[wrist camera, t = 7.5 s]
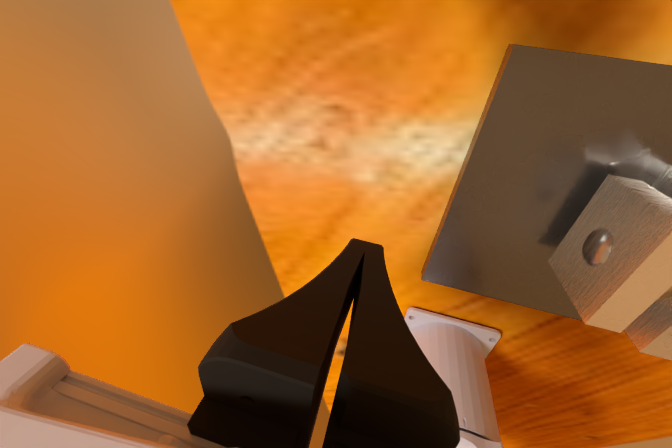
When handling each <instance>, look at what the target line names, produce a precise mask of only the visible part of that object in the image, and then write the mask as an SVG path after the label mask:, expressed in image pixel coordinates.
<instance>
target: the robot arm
mask: <svg viewBox="0 0 672 448" xmlns="http://www.w3.org/2000/svg"><path fill="white" fill-rule="evenodd" d="M353 299H354V301H353ZM352 301H353V308H352V314H351V321H350V328H349V334H348V341H347V347H346V352H345V356H344V361H343V365H342V369H341V373H340V377H339V381H338V385H337V389H336V393H335V397H334V402H333V406H332V410H331V414H330V418H329V422H328V426H327V430H326V434H325V439H324V443H323V447H322V448H503V444H502V443H501V438H500V433H499V428H498V423H497V418H496V413H495V409H494V404H493V399H492V394H491V389H490V384H489V379H488V374H487V369H486V364H485V358H486V357H487V356H488V354H489V353H490V352H491V350H492V349H493V347H494V346H495V345H496V343H497V342H498V340H499V339H500V338H501V334H500V332H499V331H498V330H496V329H492V328H489V327H485V326H481V325H477V324H474V323H470V322H466V321H463V320H459V319H455V318H451V317H448V316H444V315H440V314H437V313H433V312H429V311H426V310H422V309H418V308H414V307H411V308H408V310H407V313H406V315H405V318H404V317H403V315H402V313H401V311H400V309H399V306H398V304H397V301H396V299H395V296H394V293H393V291H392V287H391V284H390V281H389V277H388V274H387V270H386V265H385V260H384V248H383V247H382V245H378V244H374V243H370V242H366V241H362V240H358V239H354V238H353V239H351V240H350V242H349V243H348V245H347V246H346V247H345V249H344V250H343V251H342V252H341V253H340V254H339V255H338V256H337V257H336V259H335V260H334V261H333V262H332V263H331V264H330V265H329V266H328V267H326V268H325V269H324V270H323V271H322V272H321V273H320V274H318V275H317V276H316V277H315V278H314V279H312V280H311V281H310V282H308V283H307V284H306V285H304V286H303V287H302V288H300V289H299V290H297V291H296V292H294V293H292V294H291V295H289V296H288V297H286V298H284V299H283V300H281V301H279V302H277V303H275V304H273V305H271V306H269V307H267V308H265V309H264V310H262V311H259V312H257V313H255V314H253V315H251V316H248V317H245V318H243V319H241V320H238V321H236V322H233V323H231V324H230V325H229V326H228V327H227V328H226V329H225V330H224V332H223V333H222V334H221V335H220V336H219V337H218V338H217V340H216V341H215V342H214V343H213V345H212V346H211V348H210V350H209V351H208V352H207V354H206V355H205V357H204V358H203V360H202V361H201V363H200V365H199V367H198V370H199V377H200V381H201V384H202V388H203V392H204V397H203V399H202V400H201V402H200V404H199V405H198V407H197V409H196V410H195V412H194V414H190V413H187V412H184V411H182V410H179V409H176V408H173V407H171V406H168V405H165V404H162V403H160V402H157V401H154V400H151V399H149V398H146V397H143V396H141V395H137V394H135V393H132V392H130V391H127V390H124V389H121V388H119V387H116V386H113V385H111V384H108V383H105V382H102V381H100V380H97V379H94V378H91V377H88V376H86V375H83V374H80V373H77V372H75V371H72V370H70V366H69V365H68V363H67V362H66V360H65V359H63V358H62V357H61V356H60V355H58V354H56V353H54V352H52V351H49V350H46V349H43V348H40V347H38V346H35V345H32V344H29V343H25V344H23V345H22V346H20V347H19V348H18V349H16V350H15V351H14V352H12V353H11V354H10V355H9V356H7V357H6V358H4V359H3V360H2V361H0V448H309V444H310V440H311V437H312V433H313V429H314V425H315V422H316V418H317V414H318V410H319V407H320V403H321V399H322V395H323V392H324V388H325V384H326V380H327V377H328V373H329V369H330V366H331V362H332V358H333V355H334V351H335V348H336V345H337V342H338V339H339V336H340V333H341V331H342V328H343V325H344V323H345V320H346V317H347V315H348V312H349V309H350V307H351V304H352Z"/></svg>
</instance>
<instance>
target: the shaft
mask: <svg viewBox="0 0 672 448" xmlns="http://www.w3.org/2000/svg"><path fill="white" fill-rule="evenodd" d="M548 262H549V264H550V265H551V267H552V269H553V271H554V272H555V274H556V276H557V277H558V279H559V281H560V283H561V284H562V286H563V288H564V289H565V291H566V293H567V294H568V296H569V298H570V300H571V301H572V303H573V305H574V306H575V308H576V310H577V311H578V313H579V315H580V317H581V318H582V320H583V322H584V323H585V324H587V325H591V326H595V327H599V328H603V329H607V330H610V331H614V332H618V333H621V332H622V331H623V330H624V329H625V328H626V327H628V326H629V325H630V324H631V323H632V322H633V321H634V320H635V319H636V318H637V317H638V316H640V315H641V314H642V313H643V312H644V311H645V310H646V309H647V308H648V307H649V306H650V305H651V304H653V303H654V302H655V301H656V300H661V299H665V298H669V297H671V296H672V199H671V198H669V197H668V196H666V195H664V194H663V193H661V192H660V191H658V190H656V189H655V188H653V187H651V186H650V185H648V184H647V183H645V182H643V181H640V180H635V179H629V178H624V177H619V176H613V175H608V176H607V177H606V179H605V180H604V181H603V183H602V184H601V186H600V187H599V189H598V190H597V191H596V193H595V194H594V196H593V197H592V199H591V200H590V201H589V203H588V204H587V206H586V207H585V209H584V210H583V211H582V213H581V214H580V216H579V217H578V219H577V220H576V221H575V223H574V224H573V226H572V227H571V229H570V230H569V231H568V233H567V234H566V236H565V237H564V239H563V240H562V241H561V243H560V244H559V246H558V247H557V249H556V250H555V251H554V253H553V254H552V256H551V257H550V259H549V260H548Z"/></svg>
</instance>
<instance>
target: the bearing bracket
mask: <svg viewBox="0 0 672 448" xmlns="http://www.w3.org/2000/svg"><path fill="white" fill-rule="evenodd" d="M608 175H613V176H619V177H624V178H629V179H635V180H640V181H643V182H645V183H647V184H648V185H650V186H651V187H653V188H655V189H656V190H658V191H660V192H661V193H663V194H664V195H666V196H668V197H669V198H671V199H672V66H671V65H664V64H656V63H649V62H641V61H634V60H626V59H619V58H611V57H604V56H597V55H589V54H582V53H574V52H567V51H559V50H552V49H544V48H537V47H530V46H522V45H515V44H509V45H508V48H507V51H506V53H505V56H504V58H503V61H502V64H501V66H500V69H499V71H498V74H497V77H496V79H495V82H494V84H493V87H492V90H491V92H490V95H489V97H488V100H487V103H486V105H485V108H484V110H483V113H482V116H481V118H480V121H479V123H478V126H477V129H476V131H475V134H474V136H473V139H472V142H471V144H470V147H469V149H468V152H467V155H466V157H465V160H464V162H463V165H462V168H461V170H460V173H459V175H458V178H457V181H456V183H455V186H454V188H453V191H452V194H451V196H450V199H449V201H448V204H447V207H446V209H445V212H444V214H443V217H442V220H441V222H440V225H439V227H438V230H437V233H436V235H435V238H434V240H433V243H432V246H431V248H430V251H429V253H428V256H427V259H426V261H425V264H424V266H423V269H422V280H424V281H428V282H432V283H436V284H440V285H444V286H448V287H452V288H456V289H460V290H464V291H468V292H471V293H475V294H479V295H483V296H487V297H491V298H495V299H499V300H503V301H507V302H511V303H515V304H518V305H522V306H526V307H530V308H534V309H538V310H542V311H546V312H550V313H554V314H558V315H562V316H566V317H569V318H573V319H577V320H581V321H583V320H582V318H581V317H580V315H579V313H578V311H577V310H576V308H575V306H574V305H573V303H572V301H571V300H570V298H569V296H568V294H567V293H566V291H565V289H564V288H563V286H562V284H561V283H560V281H559V279H558V277H557V276H556V274H555V272H554V271H553V269H552V267H551V265H550V264H549V262H548V260H549V259H550V257H551V256H552V254H553V253H554V251H555V250H556V249H557V247H558V246H559V244H560V243H561V241H562V240H563V239H564V237H565V236H566V234H567V233H568V231H569V230H570V229H571V227H572V226H573V224H574V223H575V221H576V220H577V219H578V217H579V216H580V214H581V213H582V211H583V210H584V209H585V207H586V206H587V204H588V203H589V201H590V200H591V199H592V197H593V196H594V194H595V193H596V191H597V190H598V189H599V187H600V186H601V184H602V183H603V181H604V180H605V179H606V177H607V176H608ZM623 331H624V332H625V333H626V334H627V335H628V337H629V338H630V340H631V341H632V342H633V344H634V345H635V347H636V348H637V349H638V351H639V352H641V353H645V354H649V355H653V356H657V357H660V358H664V359H668V360H672V296H671V297H669V298H665V299H661V300H656V301H655V302H654V303H653V304H651V305H650V306H649V307H648V308H647V309H646V310H645V311H644V312H643V313H642V314H641V315H640V316H638V317H637V318H636V319H635V320H634V321H633V322H632V323H631V324H630V325H629V326H628V327H626V328H625V329H624V330H623Z"/></svg>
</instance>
